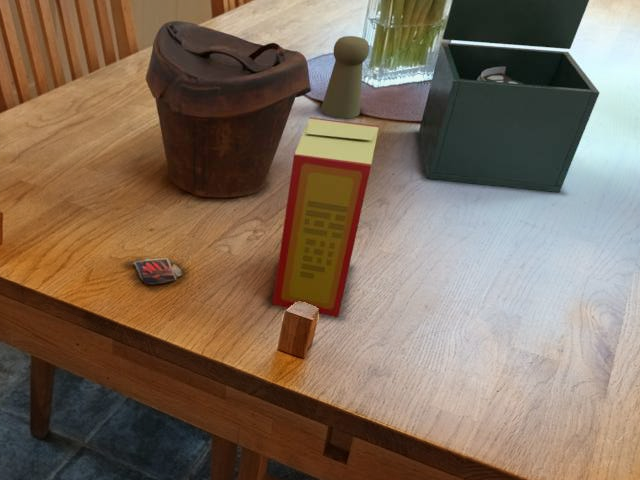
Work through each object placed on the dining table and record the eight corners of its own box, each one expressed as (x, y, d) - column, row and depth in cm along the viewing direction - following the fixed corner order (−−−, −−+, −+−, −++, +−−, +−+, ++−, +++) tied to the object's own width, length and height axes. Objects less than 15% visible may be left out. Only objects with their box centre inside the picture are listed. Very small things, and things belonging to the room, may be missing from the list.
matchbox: (148, 289, 73) (148, 285, 73) (126, 265, 77) (126, 261, 76) (188, 277, 75) (188, 273, 75) (164, 255, 79) (164, 251, 78)
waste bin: (559, 192, 93) (600, 92, 84) (426, 178, 95) (453, 80, 87) (535, 142, 105) (568, 51, 97) (418, 131, 108) (441, 42, 100)
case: (315, 205, 89) (341, 53, 77) (155, 215, 86) (158, 59, 74) (274, 147, 102) (291, 11, 91) (135, 154, 99) (134, 14, 88)
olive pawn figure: (330, 101, 117) (343, 29, 110) (365, 110, 114) (380, 37, 107) (314, 112, 113) (326, 38, 106) (350, 121, 110) (364, 46, 104)
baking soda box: (338, 316, 70) (371, 161, 60) (272, 304, 72) (294, 151, 62) (348, 268, 77) (379, 122, 67) (288, 257, 79) (310, 113, 69)
